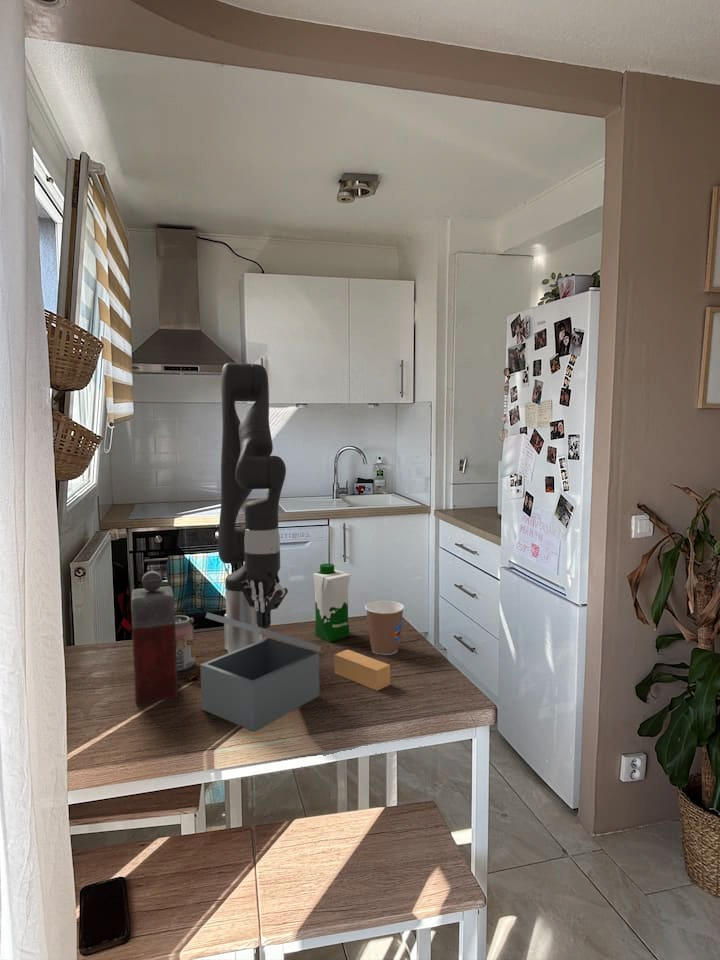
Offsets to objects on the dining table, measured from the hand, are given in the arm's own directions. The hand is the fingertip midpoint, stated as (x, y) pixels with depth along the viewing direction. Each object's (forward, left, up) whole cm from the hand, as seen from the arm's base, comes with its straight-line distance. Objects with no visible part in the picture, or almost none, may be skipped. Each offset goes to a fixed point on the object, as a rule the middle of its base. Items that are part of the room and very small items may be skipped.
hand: (263, 627), depth 141 cm
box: (0, -1, -17) cm, 17 cm away
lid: (0, 0, -2) cm, 2 cm away
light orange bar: (+10, +22, -17) cm, 30 cm away
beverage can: (-32, +1, -17) cm, 36 cm away
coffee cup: (+4, +40, -17) cm, 44 cm away
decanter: (-24, -11, -17) cm, 32 cm away
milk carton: (-14, +40, -17) cm, 46 cm away
